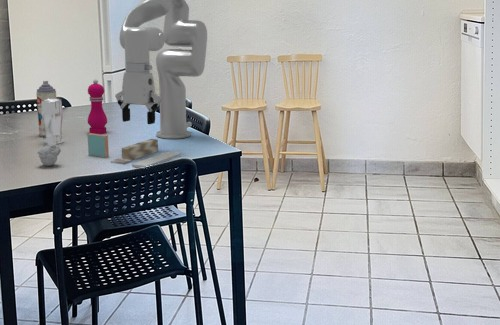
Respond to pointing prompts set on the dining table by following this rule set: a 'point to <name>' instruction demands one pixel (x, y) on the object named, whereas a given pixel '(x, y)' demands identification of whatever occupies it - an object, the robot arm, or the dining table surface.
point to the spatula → (137, 151)
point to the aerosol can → (42, 93)
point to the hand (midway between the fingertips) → (138, 122)
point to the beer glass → (52, 120)
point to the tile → (98, 145)
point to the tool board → (156, 159)
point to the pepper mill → (96, 109)
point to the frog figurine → (49, 154)
